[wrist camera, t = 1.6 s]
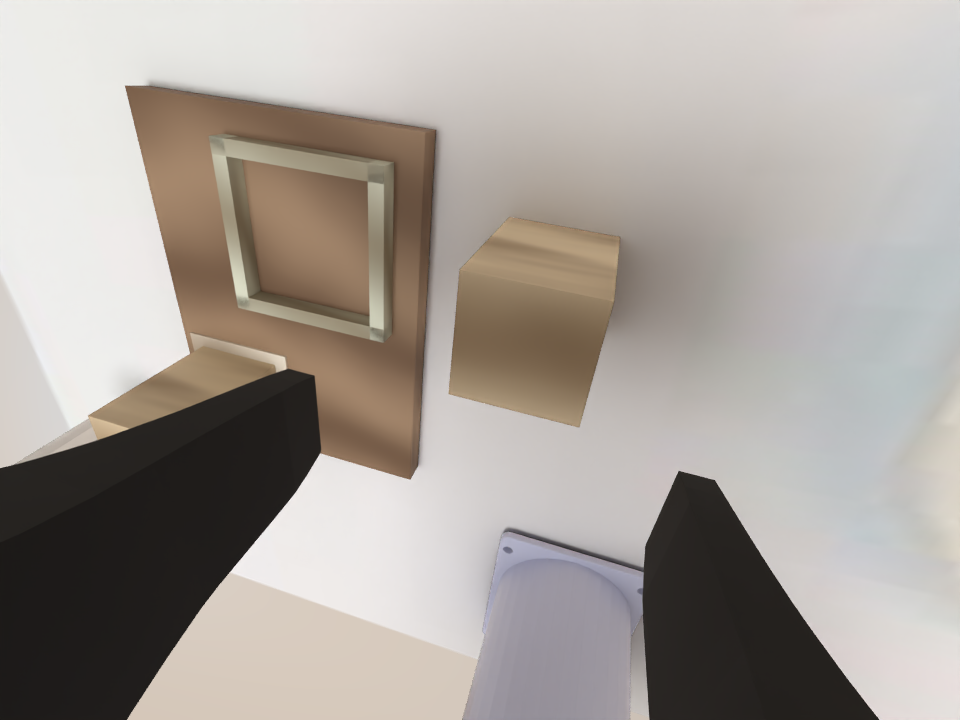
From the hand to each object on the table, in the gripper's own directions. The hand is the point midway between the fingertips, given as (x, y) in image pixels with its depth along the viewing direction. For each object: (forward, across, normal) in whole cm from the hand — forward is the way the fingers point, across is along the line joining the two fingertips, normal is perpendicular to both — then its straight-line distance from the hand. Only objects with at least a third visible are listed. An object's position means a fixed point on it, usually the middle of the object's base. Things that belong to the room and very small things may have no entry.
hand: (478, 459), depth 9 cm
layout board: (+10, +11, +4) cm, 16 cm away
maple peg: (+10, 0, 0) cm, 10 cm away
